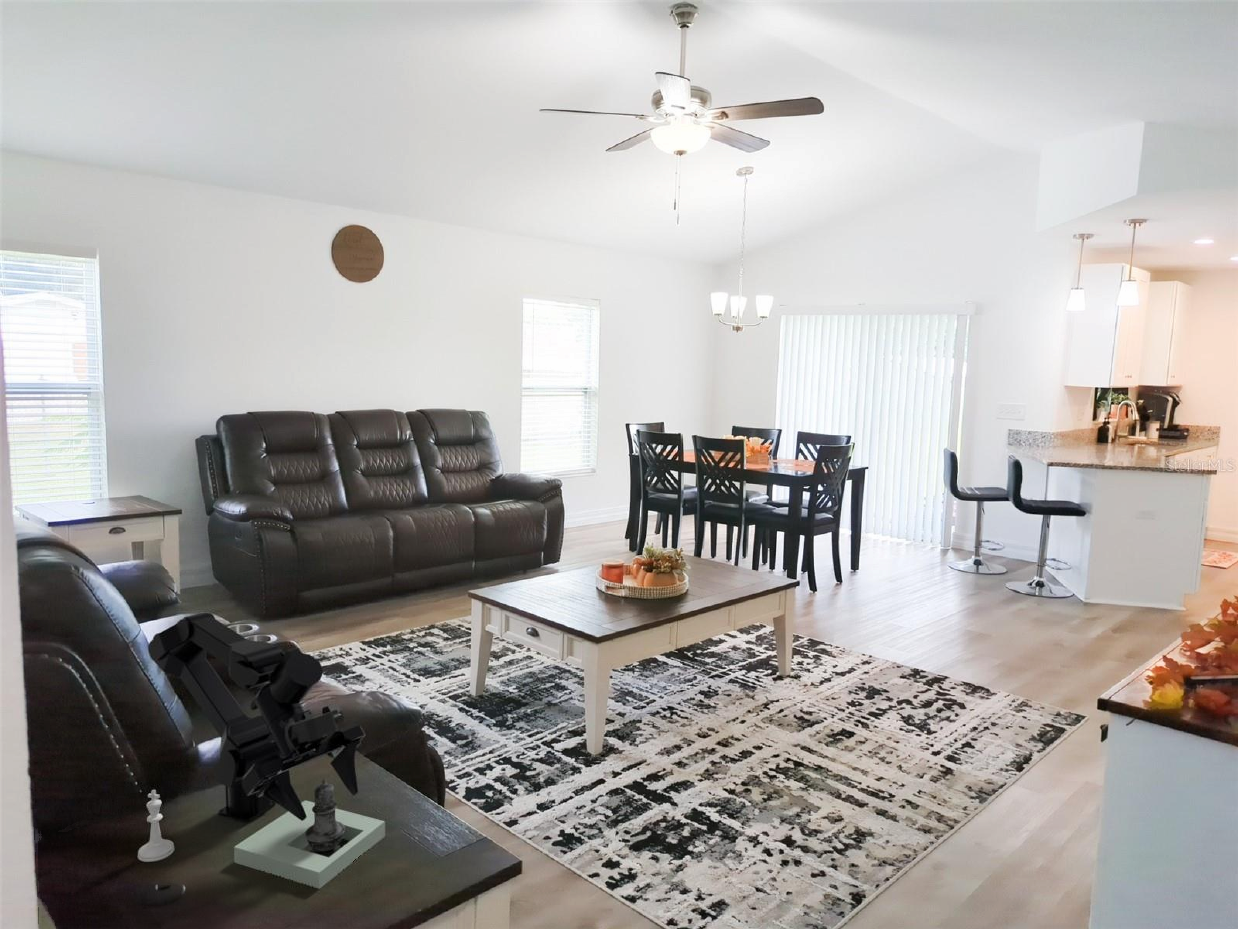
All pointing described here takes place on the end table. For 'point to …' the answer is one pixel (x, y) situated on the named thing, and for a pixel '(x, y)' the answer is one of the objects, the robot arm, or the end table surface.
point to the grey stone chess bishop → (324, 823)
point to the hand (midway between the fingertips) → (330, 806)
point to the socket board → (286, 838)
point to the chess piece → (155, 834)
